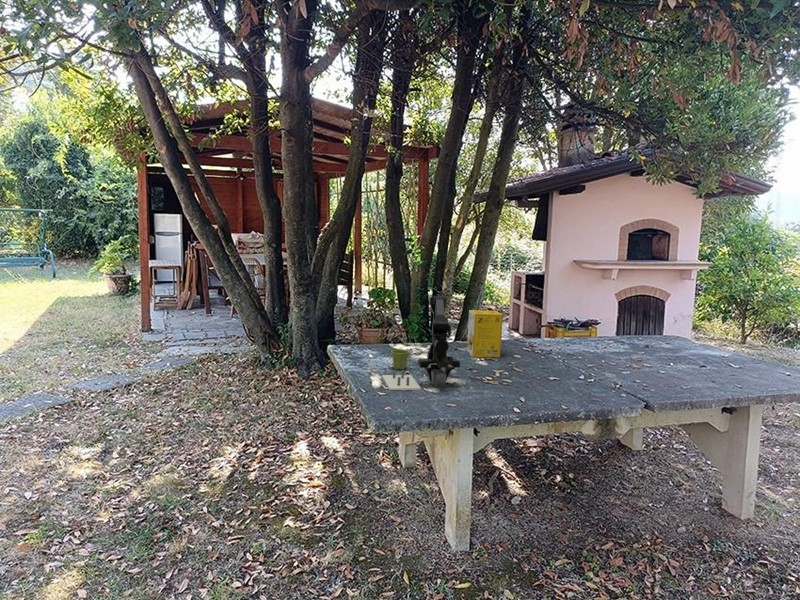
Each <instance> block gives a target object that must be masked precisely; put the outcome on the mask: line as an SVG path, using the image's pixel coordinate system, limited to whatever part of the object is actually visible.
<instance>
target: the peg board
mask: <svg viewBox="0 0 800 600" xmlns="http://www.w3.org/2000/svg"><path fill="white" fill-rule="evenodd" d="M396 371H397V370H396V369H394V370H392V374H382V375H381V379H382V378H383V379H382V380H383V382H384V381H385V382H384V384H385V383H386V384H385V386H386V387H387V386H388V387H387V389H388V388H389V389H388V390H389V391H390V390H403V392H404V391H405V390H406V391H407V390H412V391H422V387H421V386H420V385H419V383H418V382H417V381H416V380H415V378H414V377H413V376H412V374H405V369H401V374H396Z"/></svg>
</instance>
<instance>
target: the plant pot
mask: <svg viewBox="0 0 800 600" xmlns="http://www.w3.org/2000/svg"><path fill="white" fill-rule="evenodd" d="M390 352H391V356H392V362H393V368H394V370H405V369H406V368H407V364H408V362H407V361H408V357H409V356H410V355H409V354H410V351H409V350H405V349H392V350H391V351H390Z"/></svg>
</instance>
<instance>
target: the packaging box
mask: <svg viewBox="0 0 800 600" xmlns="http://www.w3.org/2000/svg"><path fill="white" fill-rule="evenodd" d="M503 318H504V315H503V314H502V313H500V312H499V311H497V310H481V309H480V310H478V309H469V311H468V326H467V338H466V339H467V340H466V341H467V342H466V352H467V351H468V352H469V353H470V354H469V353H468V352H467V353H468V354H469V356H472V357H471V358H483V357H500V358H501V348H502V347H501V346H502V336H503V335H502V332H503V322H504V321H503Z"/></svg>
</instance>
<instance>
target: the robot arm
mask: <svg viewBox="0 0 800 600" xmlns="http://www.w3.org/2000/svg"><path fill="white" fill-rule="evenodd" d="M428 303H429V304H428V305H429V306H430V309H429V310H430V311H431V313H432V315H433V316H432V317H433V318H432V327H431V329H432V330H431V332H432V333H431V334H432V343H431V345H430V346H429V350H428V351H427V357H426V358H419V359H418V360H417V366H418V367H419V368H423V369H424V370H425V371H426V373H427V377H428V380H429V382H430V383H431V380H432V376H431V370H432V369H441V370H442V368H443V369H444V373H445V374H446V381H447V380H448V377H449V376H450V373H451V372H452V371H453V370H455V369H456V368H461V362H460V361H459V360H458V359H457V358H454V357H453V356H448V355H447V351H448V350H449V346H450V345H449V343H448V339H447V338H449V339H450V338H451V336H452V328H451V325H450V323H449V319H448V317H446V313H445V309H446V306H447V305H448V304H447V303H448V298H447V297H445V296H444V295H443V296H442V295H441V296H440V295H432V296H430V297H429V299H428Z"/></svg>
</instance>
